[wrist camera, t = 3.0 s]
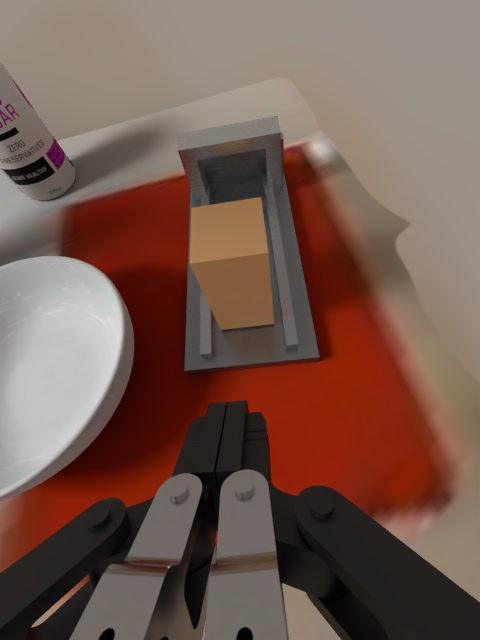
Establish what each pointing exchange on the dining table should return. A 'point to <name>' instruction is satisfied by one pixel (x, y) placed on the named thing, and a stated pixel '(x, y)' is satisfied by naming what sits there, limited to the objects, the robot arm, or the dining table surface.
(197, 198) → the rail
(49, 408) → the serving bowl
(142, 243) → the dining table surface
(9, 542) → the dining table surface
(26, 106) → the supplement can
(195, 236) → the block
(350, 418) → the dining table surface
